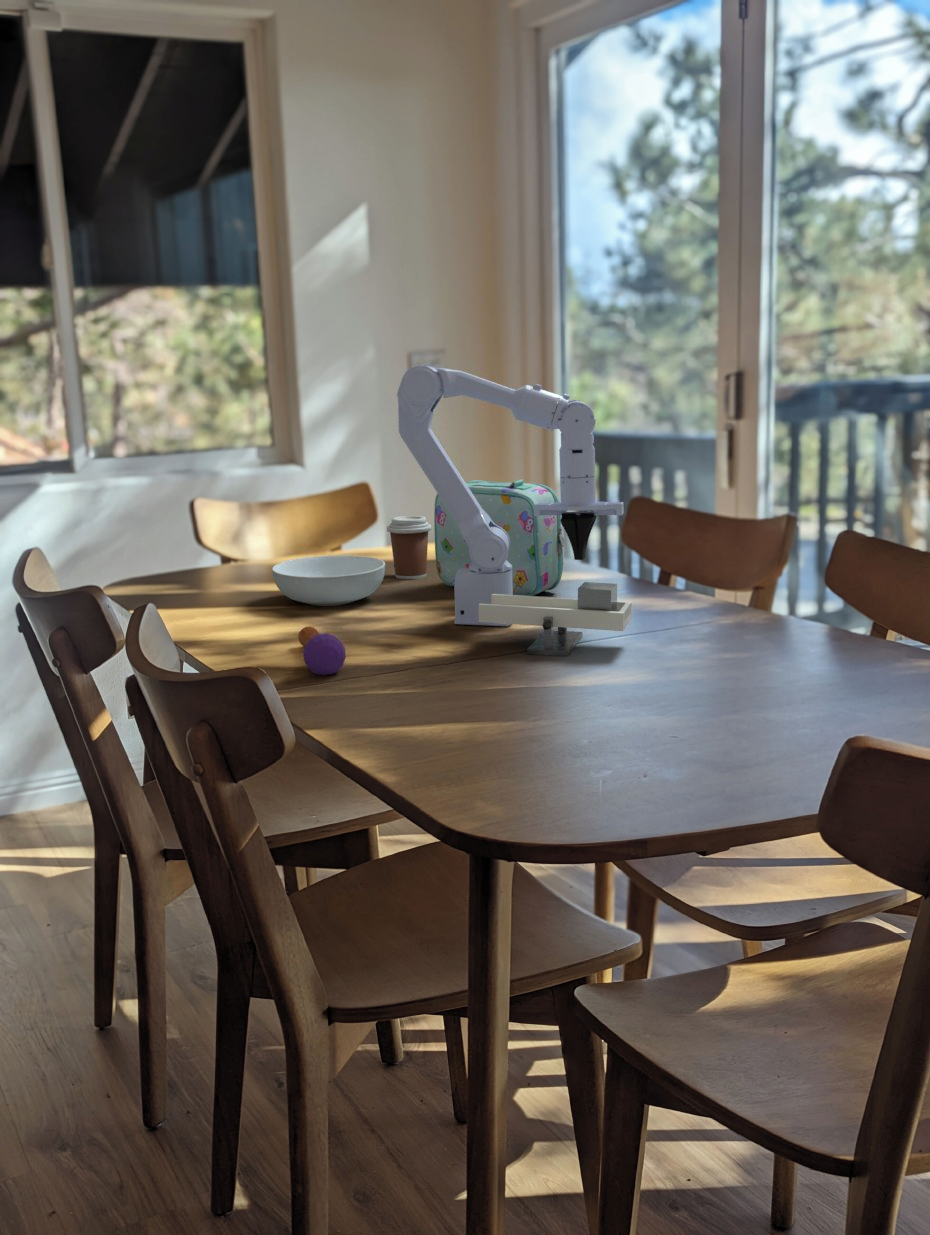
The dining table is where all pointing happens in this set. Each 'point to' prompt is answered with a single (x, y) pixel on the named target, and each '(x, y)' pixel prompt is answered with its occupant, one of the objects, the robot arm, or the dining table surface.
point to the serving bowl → (329, 578)
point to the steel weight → (597, 596)
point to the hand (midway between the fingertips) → (579, 558)
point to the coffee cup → (409, 546)
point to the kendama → (321, 651)
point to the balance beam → (552, 612)
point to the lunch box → (529, 535)
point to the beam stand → (554, 640)
